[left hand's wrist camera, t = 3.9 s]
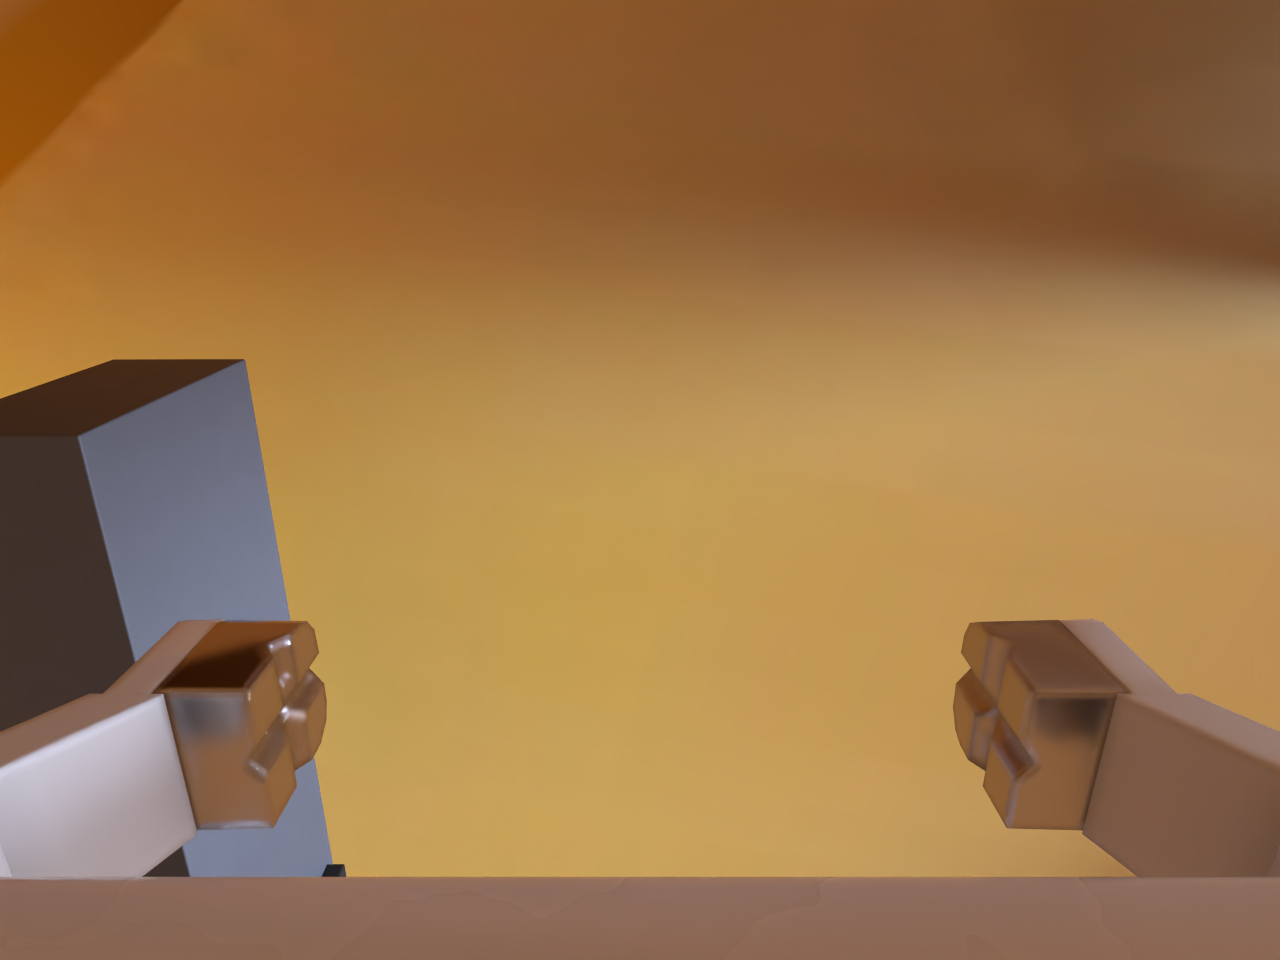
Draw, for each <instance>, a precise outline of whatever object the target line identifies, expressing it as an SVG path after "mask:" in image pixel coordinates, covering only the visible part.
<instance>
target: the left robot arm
mask: <svg viewBox="0 0 1280 960" xmlns="http://www.w3.org/2000/svg"><path fill="white" fill-rule="evenodd" d="M318 653H319V650H318V645H317V640H316V636H315V631H314V628H313V627H312V626H311V625H310V624H309V623H308V622H307V621H267V620H224V619H202V620H185V621H178V622H177V623H176V624H175V625H174V626H173V627H172V628H171V629H170V630H169V631H168V632H167V633H166V634H165V635H164V636H163V637H162V638H161V639H159V640H158V641H157V642H156V643H155V644H154V645H153V646H152V647H151V648H150V649H149V650H148V651H147V652H146V653H145V654H144V655H143V656H142V657H141V658H140V659H139V660H138V661H136V662H135V663H134V664H133V665H132V666H131V667H130V668H129V669H128V670H127V671H126V672H125V673H124V674H123V675H122V676H121V677H120V678H119V679H118V680H117V681H116V682H115V683H113V684H112V685H111V686H110V687H109V688H108V689H107V690H106V691H105V692H104V693H103V694H88V695H85V696H83V697H81V698H78V699H76V700H73V701H71V702H69V703H66V704H64V705H62V706H59V707H57V708H55V709H52V710H50V711H48V712H45V713H43V714H41V715H38V716H36V717H34V718H31V719H29V720H27V721H24V722H22V723H20V724H17V725H15V726H13V727H10V728H8V729H6V730H3V731H1V732H0V960H1280V732H1279V731H1276V730H1274V729H1272V728H1269V727H1267V726H1265V725H1262V724H1260V723H1258V722H1255V721H1253V720H1251V719H1248V718H1246V717H1244V716H1241V715H1239V714H1237V713H1234V712H1232V711H1230V710H1227V709H1225V708H1223V707H1220V706H1218V705H1216V704H1213V703H1211V702H1209V701H1206V700H1204V699H1202V698H1199V697H1197V696H1195V695H1192V694H1177V693H1176V692H1175V691H1174V690H1173V689H1172V688H1171V687H1170V686H1169V685H1168V684H1167V683H1166V682H1165V681H1163V680H1162V679H1161V678H1160V677H1159V676H1158V675H1157V674H1156V673H1155V672H1154V671H1153V670H1152V669H1151V668H1150V667H1149V666H1148V665H1147V664H1146V663H1145V662H1144V661H1143V660H1142V659H1141V658H1139V657H1138V656H1137V655H1136V654H1135V653H1134V652H1133V651H1132V650H1131V649H1130V648H1129V647H1128V646H1127V645H1126V644H1125V643H1124V642H1123V641H1122V640H1121V639H1120V638H1119V637H1118V636H1117V635H1116V634H1114V633H1113V632H1112V631H1111V630H1110V629H1109V628H1108V627H1107V626H1106V625H1105V624H1104V623H1103V622H1100V621H1097V620H1094V619H1075V620H1038V621H997V622H974V623H969V626H968V628H967V630H966V632H965V634H964V639H963V644H962V650H961V653H962V655H963V656H964V658H965V659H966V661H967V662H968V664H969V666H970V667H971V668H970V669H969V671H968V672H967V673H966V674H965V675H964V676H963V677H962V678H961V679H960V680H959V681H958V682H957V683H956V687H955V695H954V703H953V711H954V722H955V730H956V733H957V736H958V740H959V743H960V746H961V747H962V749H963V751H964V753H965V755H966V757H967V759H968V760H969V761H971V762H972V763H974V764H975V765H977V766H978V767H980V768H982V769H983V770H985V777H984V782H983V787H984V789H985V791H986V793H987V794H988V796H989V798H990V800H991V801H992V803H993V805H994V807H995V808H996V810H997V812H998V814H999V815H1000V817H1001V819H1002V821H1003V822H1004V824H1005V826H1006V828H1017V829H1054V830H1083V832H1082V834H1083V835H1085V836H1086V837H1087V838H1089V839H1090V840H1091V841H1092V842H1094V843H1095V844H1096V845H1098V846H1099V847H1100V848H1102V849H1103V850H1104V851H1105V852H1107V853H1108V854H1109V855H1111V856H1112V857H1113V858H1115V859H1116V860H1117V861H1118V862H1120V863H1121V864H1122V865H1124V866H1125V867H1126V868H1128V869H1129V870H1130V871H1131V872H1133V873H1134V874H1135V875H1137V876H1138V877H142V876H144V875H145V874H146V873H148V872H149V871H150V870H151V869H153V868H154V867H155V866H157V865H158V864H159V863H161V862H162V861H163V860H164V859H166V858H167V857H168V856H170V855H171V854H172V853H174V852H175V851H176V850H177V849H179V848H180V847H181V846H183V845H184V844H185V843H187V842H188V841H189V840H190V839H192V838H193V837H194V836H196V835H197V830H225V829H261V828H274V826H275V824H276V823H277V821H278V819H279V817H280V816H281V814H282V812H283V810H284V809H285V807H286V805H287V803H288V801H289V800H290V798H291V796H292V794H293V793H294V791H295V789H296V787H297V782H296V777H295V770H297V769H298V768H300V767H302V766H303V765H305V764H306V763H308V762H309V761H311V760H312V759H313V757H314V755H315V753H316V751H317V749H318V747H319V745H320V743H321V740H322V736H323V732H324V727H325V723H326V704H327V700H326V694H325V687H324V683H323V682H322V681H321V680H320V679H319V678H318V677H317V676H316V675H315V674H314V673H313V672H312V671H311V669H310V668H309V667H310V666H311V664H312V662H313V661H314V659H315V658H316V656H317V655H318Z"/></svg>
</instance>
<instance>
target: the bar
mask: <svg viewBox="0 0 1280 960" xmlns="http://www.w3.org/2000/svg"><path fill="white" fill-rule="evenodd" d="M202 619H224V620H267V621H290V615H289V610H288V604H287V598H286V592H285V587H284V581H283V575H282V569H281V564H280V558H279V552H278V546H277V541H276V535H275V529H274V523H273V518H272V512H271V506H270V500H269V495H268V489H267V483H266V477H265V472H264V466H263V460H262V454H261V449H260V443H259V437H258V431H257V426H256V420H255V414H254V408H253V403H252V397H251V391H250V385H249V380H248V374H247V368H246V362H245V360H243V359H181V360H111V361H108V362H105V363H102V364H100V365H97V366H94V367H91V368H88V369H85V370H82V371H79V372H76V373H74V374H71V375H68V376H65V377H62V378H59V379H56V380H53V381H50V382H48V383H45V384H42V385H39V386H36V387H33V388H30V389H27V390H24V391H22V392H19V393H16V394H13V395H10V396H7V397H4V398H1V399H0V732H1V731H3V730H6V729H8V728H10V727H13V726H15V725H17V724H20V723H22V722H24V721H27V720H29V719H31V718H34V717H36V716H38V715H41V714H43V713H45V712H48V711H50V710H52V709H55V708H57V707H59V706H62V705H64V704H66V703H69V702H71V701H73V700H76V699H78V698H81V697H83V696H85V695H88V694H103V693H104V692H105V691H106V690H107V689H108V688H109V687H110V686H111V685H112V684H113V683H115V682H116V681H117V680H118V679H119V678H120V677H121V676H122V675H123V674H124V673H125V672H126V671H127V670H128V669H129V668H130V667H131V666H132V665H133V664H134V663H135V662H136V661H138V660H139V659H140V658H141V657H142V656H143V655H144V654H145V653H146V652H147V651H148V650H149V649H150V648H151V647H152V646H153V645H154V644H155V643H156V642H157V641H158V640H159V639H161V638H162V637H163V636H164V635H165V634H166V633H167V632H168V631H169V630H170V629H171V628H172V627H173V626H174V625H175V624H176V623H177V622H178V621H185V620H202ZM295 777H296V782H297V787H296V789H295V791H294V793H293V794H292V796H291V798H290V800H289V801H288V803H287V805H286V807H285V809H284V810H283V812H282V814H281V816H280V817H279V819H278V821H277V823H276V824H275V826H274V828H261V829H225V830H197V835H196V836H194V837H193V838H192V839H190V840H189V841H188V842H187V843H185V844H184V845H183V846H181V847H180V848H179V849H177V850H176V851H175V852H174V853H172V854H171V855H170V856H168V857H167V858H166V859H164V860H163V861H162V862H161V863H159V864H158V865H157V866H155V867H154V868H153V869H151V870H150V871H149V872H148V873H146V874H145V875H144V876H142V877H322V874H323V872H324V870H325V868H326V866H327V864H333V863H332V857H331V851H330V845H329V840H328V834H327V828H326V822H325V817H324V811H323V805H322V799H321V794H320V788H319V782H318V776H317V771H316V765H315V759H314V757H313V759H312V760H311V761H309V762H308V763H306V764H305V765H303V766H302V767H300V768H298V769H297V770H295Z"/></svg>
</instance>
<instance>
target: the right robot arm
mask: <svg viewBox="0 0 1280 960" xmlns="http://www.w3.org/2000/svg"><path fill="white" fill-rule="evenodd" d="M322 877H346V872H345V866H344V864H327V866H326V868H325V870H324V872H323V874H322Z"/></svg>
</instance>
